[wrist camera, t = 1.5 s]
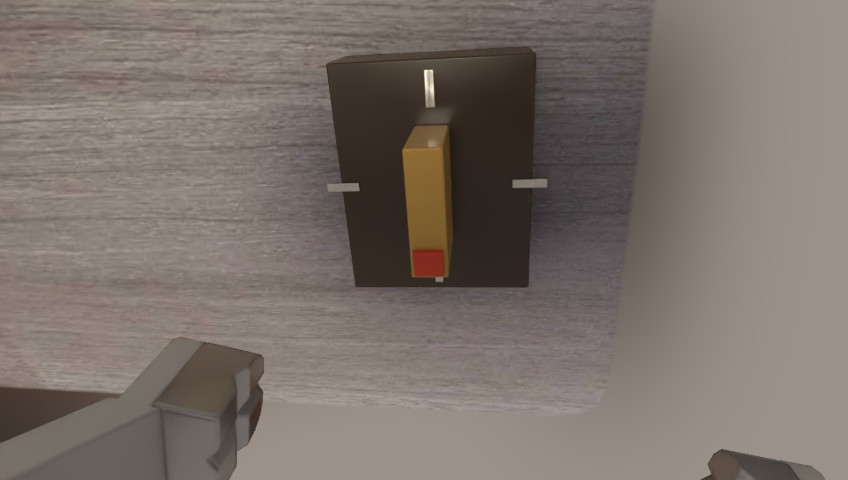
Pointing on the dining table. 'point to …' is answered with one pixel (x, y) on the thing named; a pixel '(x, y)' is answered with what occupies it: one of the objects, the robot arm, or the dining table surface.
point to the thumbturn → (429, 200)
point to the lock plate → (469, 156)
